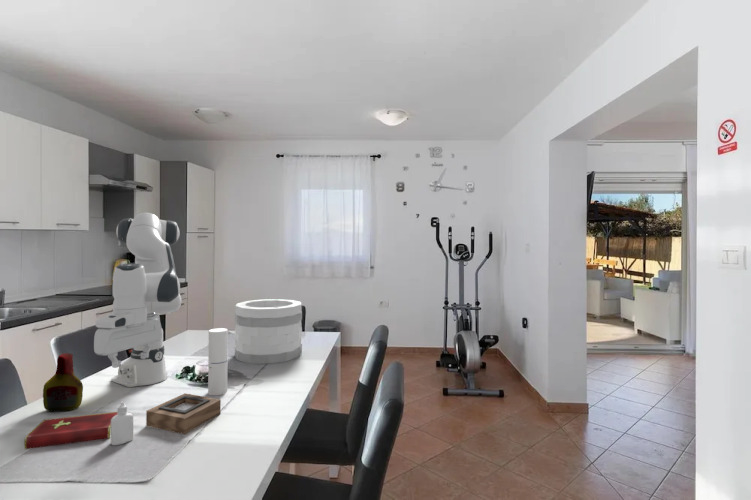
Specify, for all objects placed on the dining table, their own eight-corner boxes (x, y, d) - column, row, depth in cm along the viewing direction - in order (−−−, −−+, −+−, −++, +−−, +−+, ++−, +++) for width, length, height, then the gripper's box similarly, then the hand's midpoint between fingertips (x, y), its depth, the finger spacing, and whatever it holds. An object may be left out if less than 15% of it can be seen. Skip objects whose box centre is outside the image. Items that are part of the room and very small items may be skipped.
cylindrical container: (220, 396, 154) (221, 332, 154) (204, 394, 156) (204, 331, 155) (230, 389, 161) (231, 328, 161) (215, 387, 163) (215, 327, 162)
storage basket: (294, 364, 195) (294, 309, 194) (223, 363, 195) (224, 308, 195) (307, 346, 230) (307, 299, 229) (247, 345, 230) (248, 298, 230)
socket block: (146, 425, 129) (146, 409, 129) (184, 406, 144) (184, 391, 144) (184, 434, 123) (184, 417, 123) (220, 413, 139) (220, 398, 138)
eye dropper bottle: (114, 439, 120) (114, 400, 120) (135, 437, 121) (135, 398, 121) (108, 446, 116) (108, 405, 115) (130, 444, 117) (130, 404, 117)
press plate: (165, 413, 131) (165, 410, 131) (184, 404, 139) (184, 401, 139) (184, 417, 128) (184, 414, 128) (202, 407, 136) (202, 405, 136)
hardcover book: (109, 440, 120) (109, 426, 120) (24, 451, 113) (24, 436, 113) (120, 423, 131) (120, 410, 131) (44, 431, 125) (44, 418, 125)
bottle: (87, 405, 144) (87, 350, 144) (75, 412, 138) (75, 356, 137) (51, 406, 143) (51, 351, 142) (38, 414, 136) (38, 356, 136)
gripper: (151, 311, 130) (152, 352, 130) (89, 322, 111) (90, 371, 111) (166, 312, 128) (167, 354, 128) (106, 323, 109) (106, 373, 109)
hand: (131, 362), depth 120 cm, fingers open, 8 cm apart
